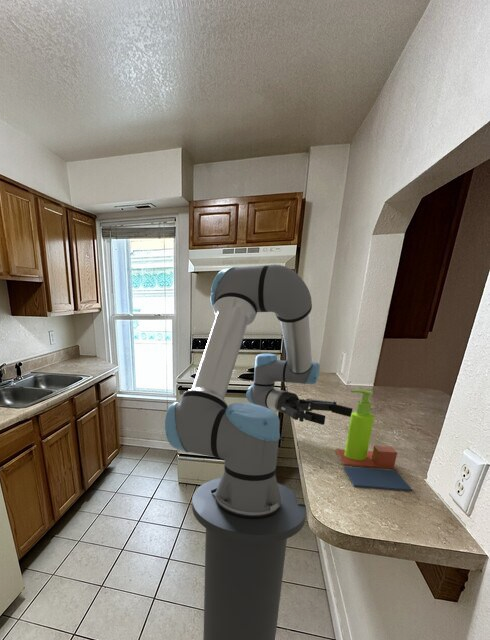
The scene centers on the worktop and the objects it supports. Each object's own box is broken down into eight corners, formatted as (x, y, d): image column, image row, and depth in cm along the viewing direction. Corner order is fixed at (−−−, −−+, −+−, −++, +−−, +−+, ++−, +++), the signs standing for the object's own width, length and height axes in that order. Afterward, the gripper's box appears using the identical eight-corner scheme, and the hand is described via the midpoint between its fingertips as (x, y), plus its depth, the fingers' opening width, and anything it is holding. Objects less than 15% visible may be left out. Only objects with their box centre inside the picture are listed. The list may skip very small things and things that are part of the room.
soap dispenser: (345, 449, 110) (356, 387, 104) (369, 456, 106) (382, 390, 99) (337, 455, 107) (347, 390, 100) (361, 461, 102) (374, 394, 95)
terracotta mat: (344, 465, 101) (344, 463, 101) (335, 450, 111) (335, 449, 111) (394, 468, 99) (394, 467, 98) (380, 453, 109) (381, 451, 108)
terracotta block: (376, 466, 99) (379, 451, 98) (371, 459, 103) (374, 445, 102) (394, 467, 98) (397, 452, 97) (388, 460, 102) (391, 446, 101)
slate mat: (354, 486, 90) (354, 484, 89) (343, 468, 100) (344, 466, 99) (411, 491, 87) (412, 489, 87) (395, 471, 97) (395, 470, 97)
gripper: (305, 406, 132) (359, 420, 115) (257, 418, 120) (310, 436, 103) (307, 386, 130) (363, 398, 113) (258, 396, 118) (313, 411, 101)
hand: (338, 416), depth 108 cm, fingers open, 13 cm apart
